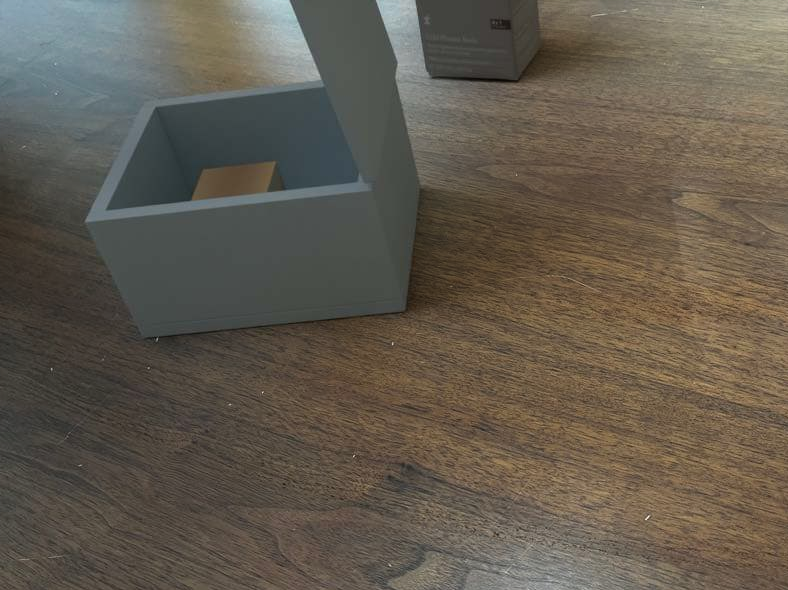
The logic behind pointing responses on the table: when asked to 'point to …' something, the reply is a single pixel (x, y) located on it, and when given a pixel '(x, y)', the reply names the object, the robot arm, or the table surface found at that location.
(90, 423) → the table surface
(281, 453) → the table surface
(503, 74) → the cosmetic box
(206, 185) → the block
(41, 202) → the table surface
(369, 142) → the lid
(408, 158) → the compartment
